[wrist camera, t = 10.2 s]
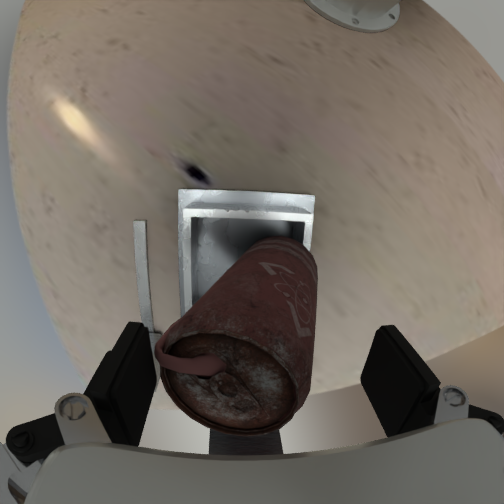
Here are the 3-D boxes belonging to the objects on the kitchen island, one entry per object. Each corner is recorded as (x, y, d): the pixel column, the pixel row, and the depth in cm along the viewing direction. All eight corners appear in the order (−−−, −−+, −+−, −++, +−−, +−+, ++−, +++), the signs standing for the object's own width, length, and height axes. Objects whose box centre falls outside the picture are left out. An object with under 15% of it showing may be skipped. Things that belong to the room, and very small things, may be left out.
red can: (247, 225, 22) (144, 297, 9) (326, 246, 21) (334, 356, 8) (233, 293, 24) (146, 408, 11) (305, 314, 23) (280, 455, 10)
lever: (135, 331, 28) (113, 372, 21) (160, 333, 28) (144, 376, 21) (140, 359, 29) (122, 402, 22) (164, 362, 29) (151, 406, 22)
